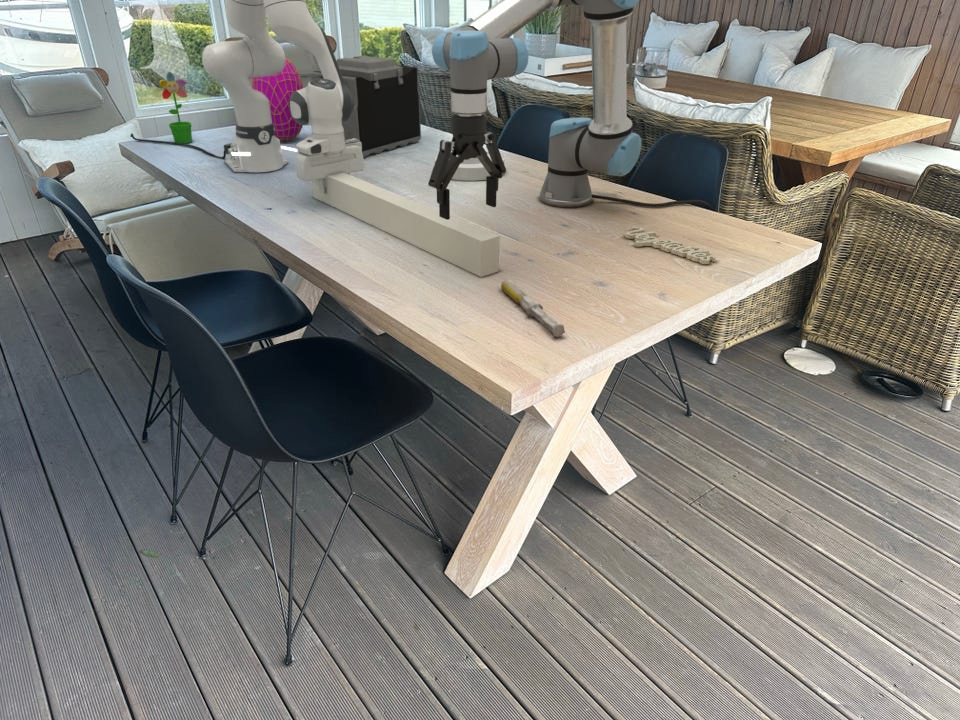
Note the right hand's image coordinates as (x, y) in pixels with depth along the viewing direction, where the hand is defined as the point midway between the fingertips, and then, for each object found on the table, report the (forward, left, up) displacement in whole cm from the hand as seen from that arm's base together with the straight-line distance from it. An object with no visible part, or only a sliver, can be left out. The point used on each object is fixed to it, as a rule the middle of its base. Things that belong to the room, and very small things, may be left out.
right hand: (468, 211), depth 154 cm
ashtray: (+35, -72, -13) cm, 81 cm away
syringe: (-22, +17, -13) cm, 31 cm away
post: (+28, -12, -13) cm, 33 cm away
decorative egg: (+117, -79, -13) cm, 142 cm away
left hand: (+55, -25, -10) cm, 61 cm away
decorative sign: (-39, -31, -13) cm, 52 cm away
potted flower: (+149, -59, -13) cm, 161 cm away
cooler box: (+83, -87, -13) cm, 120 cm away
